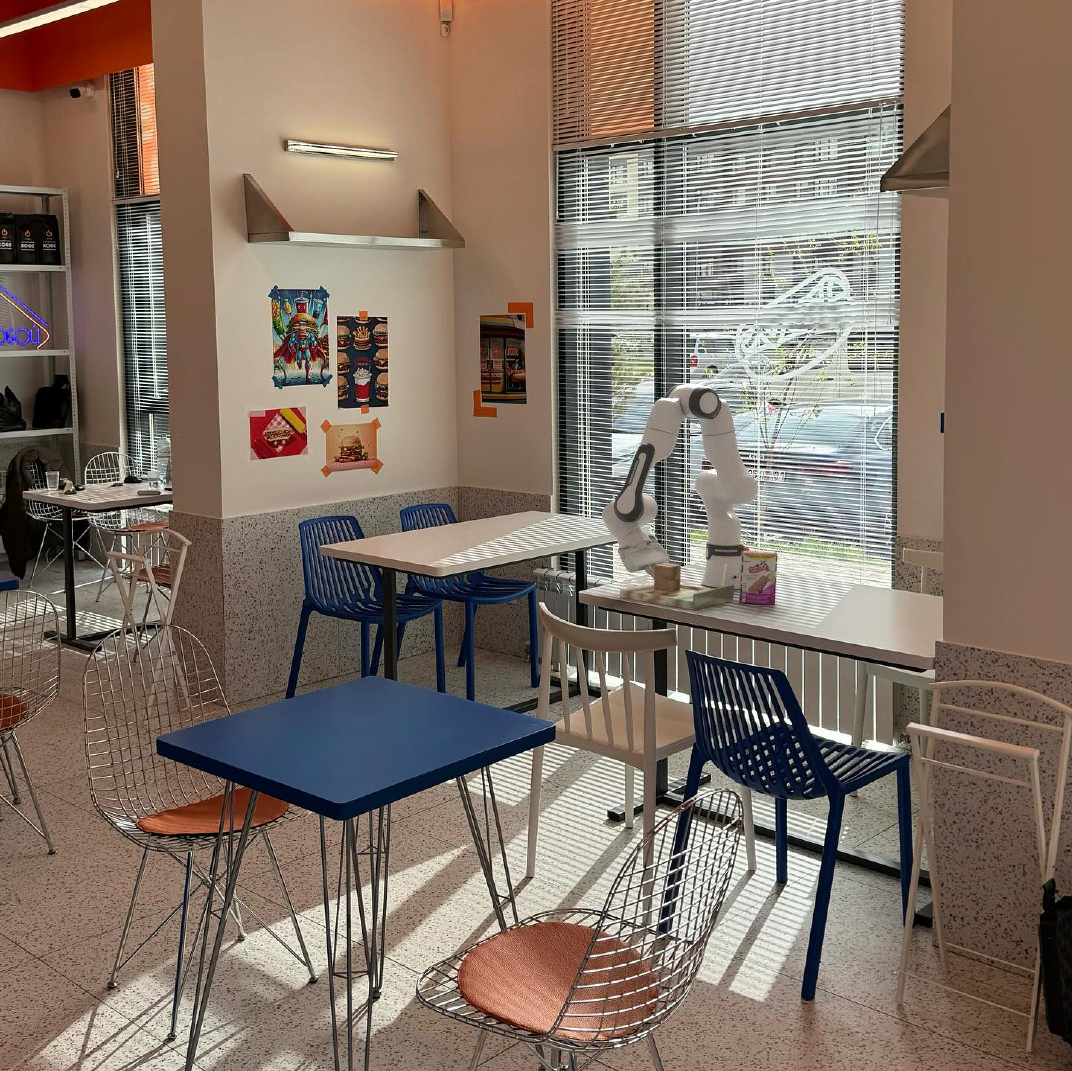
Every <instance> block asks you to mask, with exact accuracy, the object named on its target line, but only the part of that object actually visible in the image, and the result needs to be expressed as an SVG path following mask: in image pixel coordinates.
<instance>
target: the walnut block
mask: <svg viewBox="0 0 1072 1071" xmlns="http://www.w3.org/2000/svg"><path fill="white" fill-rule="evenodd" d="M681 566H682V565H681V564H675V563H670V562H668V563H662V564H657V565H655V573H654V579H653V580H654V581H653V582H654V590H660V591H666V592H671V591H676V590H680V584H681V576H682V574H681V571H682V570H681V569H682V567H681Z"/></svg>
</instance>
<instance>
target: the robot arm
mask: <svg viewBox="0 0 1072 1071" xmlns="http://www.w3.org/2000/svg"><path fill="white" fill-rule="evenodd" d="M686 418H687V419H694V418H695V419H697V420H699V423H700V430H701V439H702V445H703V452H704V456H705V458H706V460H707V461H709V463H711V465H712V467H713V469H707V470H703V471H701V472H700V473H699V474H698V475H697V476H696V479H695V482H694V483H695V484H694V485H695V486H694V487H695V491H696V493H697V494H698V496H699V497H700V498H701V500H702V502H703V506H704V509H705V512H706V516H707V518H706V519H707V542H706V545H705V559H706V560H705V568H704V572H703V577H702V580H701V584H702V585H704V586H707V587H712V588H719V587H723V586H728V585H734V590H740V575H741V555H742V551H751V549H750V548H749V547H748V546H746V545H744V544H742V543H741V537H742V536H741V535H742V533H741V532H742V522H741V519H740V518H739V516H738V515H737V514H736V512H735V509H734V506H742V505H749V504H752V503H753V501H755V499H756V497H757V496H758V491H759V484H758V482H757V480H756V479H755V477H753V476H752V475H751V474H750V473H749V471H748V469H747V468H746V466H745V464H744V462H743V459H742V457H741V454H740V452H739V447H738V442H737V436H736V429H735V428H736V427H735V422H734V418H733V414H732V411H731V408H730V405H729V403H728V402H727V401H726V400H725V399H723V398H720V396H719V394H718V392H717V391H716V390H715V389H714V388H712V387H709V386H707V385H701V384H697V383H690V384H689V383H688V384H686V383H681V384H679V383H678V384H676V385H673V386H672V387H671V388H669V389H668V391H667V393H666V394H665V396H664V397H663V398H660V399H657V400H656V401H655V402H654V404H653V407H652V408H651V410H650V412H649V415H648V418H647V421H646V423H645V427H644V432H643V435H642V437H641V441H640V444H639V446H638V448H637V451H636V452H635V455H634V456H633V459H632V462H631V464H630V468H629V471H628V474H627V476H626V479H625V482H624V484H623V487H622V489H621V490H620V491H619V492H618V494H617V496H616V497H615V499H614V500H612V501H610V502H609V503H607V504H606V505H605V506H604V508H603V510H602V512H601V519H602V521H603V523H604V525H605V526H606V528H607V530H608V532H609V533H610V535H611V536H612V537H613V538H614V539H616V541H617V544H618V546H619V547H618V549H617V553H618V555H619V559H620V561H621V563H622V564H623V566H624V567H625V569H626V571H627V572H629V573H630V574H631V573H636V572H637V573H638V572H641V571H645V573H646V574H647V575H649V576H651V577H652V579H653V580H654V573H655V565H657V564H662V563H670V561H671V560H670V556H669V554H668V552H667V551H666V549H665V548H664V547H663V546H662V544H661V543H659V542H658V541H659V540H658V537H657V536H656V535H652V534H649V533H646V532H643V531H642V529H641V528H643V527H644V526H646V525H648V524H649V523H651V522H653V520H655V518H656V517H657V515H658V511H659V505H658V503H657V501H656V499H655V498H654V497H652V496H650V495H648V494H644V489H645V486H646V484H647V480H648V478H649V474H650V472H651V469H652V468H653V467H654V466H655V464H657V463H659V462H660V461H662V460H665V459H666V458H668V457H670V456H671V455H672V453H673V451H674V449H675V446H676V444H677V442H678V437H679V434H680V428H681V425H682V423H683V421H684V420H685V419H686Z"/></svg>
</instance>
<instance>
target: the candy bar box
mask: <svg viewBox="0 0 1072 1071" xmlns="http://www.w3.org/2000/svg"><path fill="white" fill-rule="evenodd" d="M778 557H779V556H778V553H777V552H776V551H758V550H757V551H756V550H755V551H754V550H749V551H742V555H741V575H740V589H739V594H738V595H739V596H738V598H739V599H738V601H739V604H747V605H767V606H768V605H770V606H771V605H772V606H775V604H776V591H777V590H776V589H777V588H776V587H777V574H778V573H777V571H778V570H777V569H778Z"/></svg>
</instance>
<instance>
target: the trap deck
mask: <svg viewBox="0 0 1072 1071" xmlns="http://www.w3.org/2000/svg"><path fill="white" fill-rule="evenodd" d="M619 597H620V598H623V599H628V598H629V599H631V600H635V601H640V602H641V601H642V602H647V603H651V604H657V603H658V604H657V605H665V606H671V607H675V608H681V609H687V610H692V611H697V610H700V609H705V608H709V607H712V606H713V607H714V606H717V605H720V604H721V605H722V604H725V603H729V602H732V601H735V589H734V585H728V586H723V587H714V588H707V587H701V586H695V585H689V584H681V583H680V590H676V591H671V592H666V591H660V590H654V581H653V582H647V583H643V584H640V585H639V584H638V585H634V586H630V587H623V588H620V589H619ZM629 599H628V600H629Z"/></svg>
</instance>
